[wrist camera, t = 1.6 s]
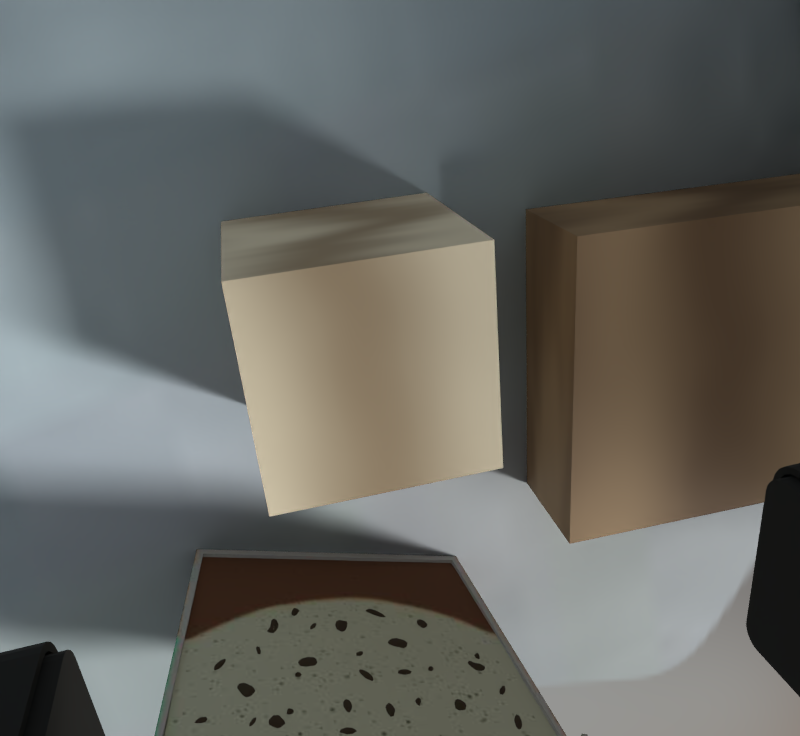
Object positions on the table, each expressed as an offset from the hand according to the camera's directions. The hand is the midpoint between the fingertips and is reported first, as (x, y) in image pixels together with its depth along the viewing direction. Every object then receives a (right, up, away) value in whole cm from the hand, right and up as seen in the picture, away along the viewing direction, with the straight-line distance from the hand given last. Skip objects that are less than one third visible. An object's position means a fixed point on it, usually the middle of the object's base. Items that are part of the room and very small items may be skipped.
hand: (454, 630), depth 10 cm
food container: (-4, -6, +17) cm, 19 cm away
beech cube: (-3, +5, +13) cm, 14 cm away
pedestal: (+8, +5, +16) cm, 19 cm away
